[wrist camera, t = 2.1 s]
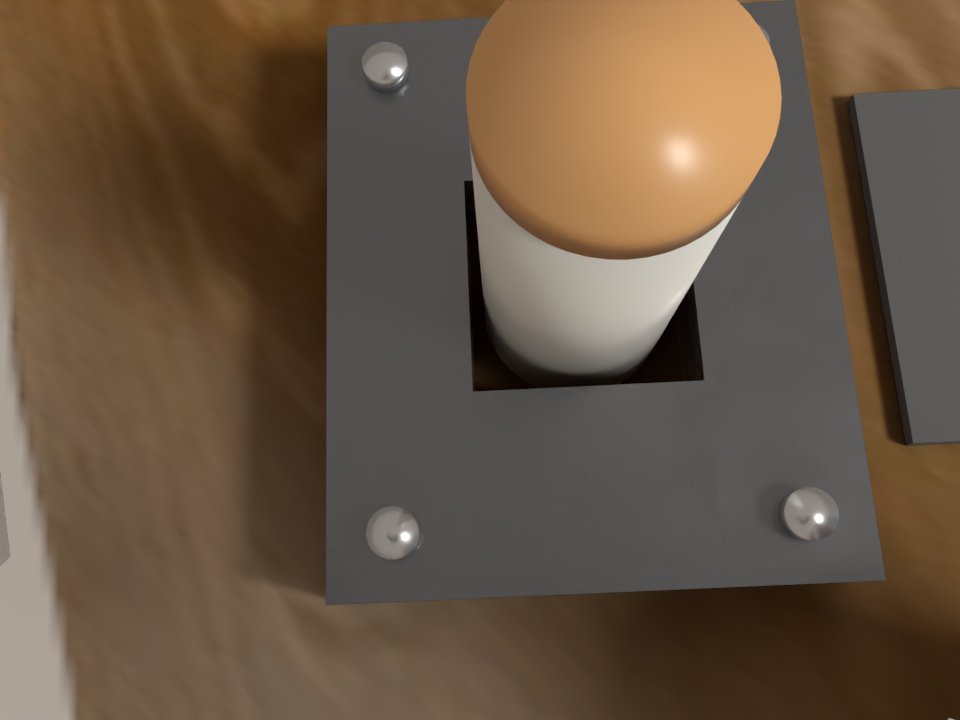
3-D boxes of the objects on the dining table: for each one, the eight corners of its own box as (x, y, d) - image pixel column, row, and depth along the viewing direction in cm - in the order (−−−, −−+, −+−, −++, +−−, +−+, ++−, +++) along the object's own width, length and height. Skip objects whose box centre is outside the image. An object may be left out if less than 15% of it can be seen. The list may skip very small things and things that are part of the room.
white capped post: (653, 222, 29) (760, -53, 17) (670, 391, 28) (801, 226, 15) (480, 231, 30) (459, -36, 17) (488, 399, 28) (472, 242, 16)
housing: (767, 55, 31) (800, -13, 27) (844, 581, 26) (895, 580, 23) (344, 79, 31) (323, 14, 28) (345, 603, 27) (321, 605, 23)
